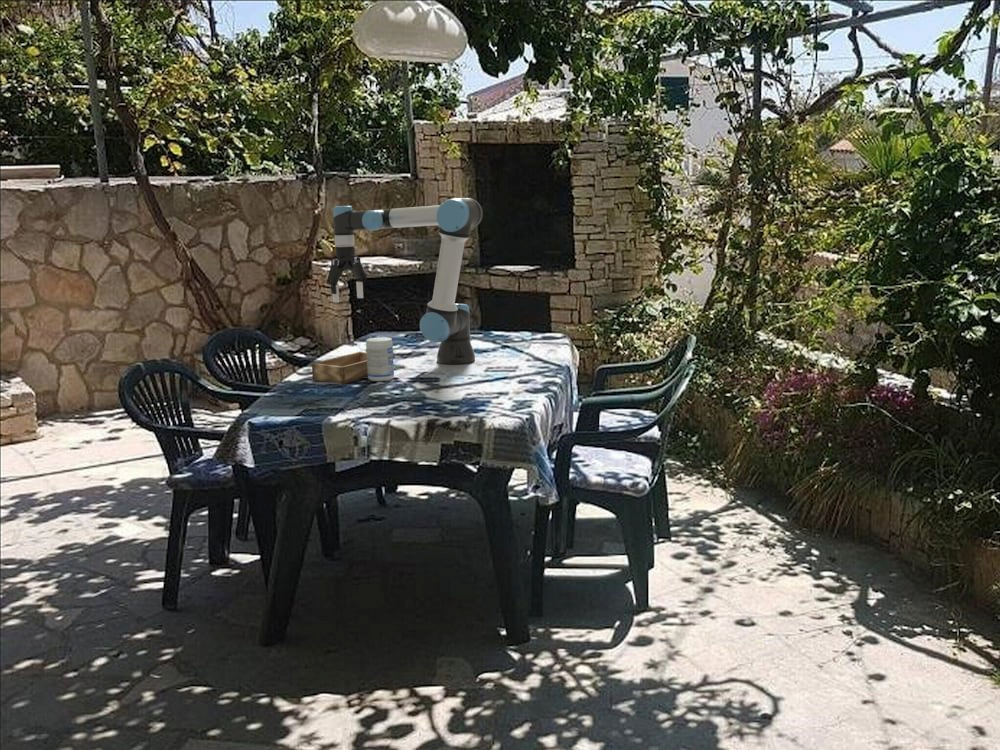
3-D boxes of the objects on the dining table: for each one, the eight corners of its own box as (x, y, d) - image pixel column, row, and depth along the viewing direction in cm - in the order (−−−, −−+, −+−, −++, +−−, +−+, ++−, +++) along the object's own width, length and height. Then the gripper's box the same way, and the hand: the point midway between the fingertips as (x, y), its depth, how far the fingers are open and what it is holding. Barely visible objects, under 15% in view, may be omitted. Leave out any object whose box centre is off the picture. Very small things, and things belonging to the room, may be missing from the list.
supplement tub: (395, 380, 318) (393, 340, 315) (369, 382, 316) (367, 342, 313) (392, 375, 327) (390, 336, 324) (366, 377, 325) (364, 337, 322)
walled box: (390, 370, 335) (389, 355, 334) (343, 383, 314) (342, 367, 313) (360, 366, 343) (359, 351, 342) (312, 379, 322) (311, 363, 321)
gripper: (359, 243, 357) (363, 295, 361) (314, 248, 337) (318, 303, 341) (373, 243, 352) (376, 296, 357) (328, 248, 332) (332, 304, 337)
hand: (348, 300), depth 349 cm, fingers open, 13 cm apart
